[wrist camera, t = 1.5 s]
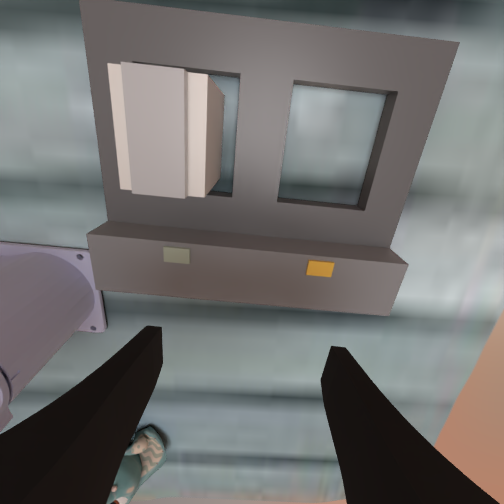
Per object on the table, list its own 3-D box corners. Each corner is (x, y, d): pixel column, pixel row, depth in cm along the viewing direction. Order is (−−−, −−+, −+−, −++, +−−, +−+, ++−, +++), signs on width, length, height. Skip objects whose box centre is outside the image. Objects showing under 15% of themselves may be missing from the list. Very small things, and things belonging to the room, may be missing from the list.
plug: (163, 171, 18) (114, 191, 12) (160, 88, 16) (99, 59, 10) (220, 177, 19) (202, 200, 12) (224, 95, 16) (205, 71, 10)
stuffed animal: (161, 461, 24) (144, 554, 26) (180, 398, 31) (164, 477, 33) (36, 443, 23) (31, 541, 25) (84, 383, 30) (76, 465, 32)
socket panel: (123, 263, 21) (94, 291, 18) (93, 8, 15) (37, -36, 11) (366, 285, 22) (390, 317, 18) (442, 49, 15) (504, 22, 12)
